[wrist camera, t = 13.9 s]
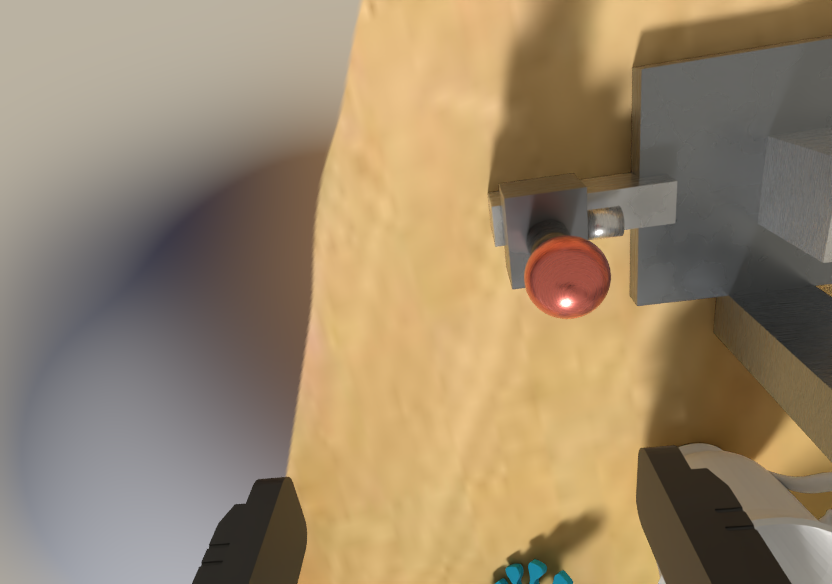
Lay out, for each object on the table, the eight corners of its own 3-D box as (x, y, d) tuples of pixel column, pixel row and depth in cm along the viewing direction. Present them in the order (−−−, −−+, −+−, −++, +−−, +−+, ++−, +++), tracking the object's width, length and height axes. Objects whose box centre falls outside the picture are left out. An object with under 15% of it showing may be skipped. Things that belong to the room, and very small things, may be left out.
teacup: (841, 457, 40) (957, 580, 31) (667, 547, 45) (723, 676, 36) (758, 355, 37) (861, 460, 28) (580, 465, 42) (618, 584, 33)
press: (911, 22, 28) (1501, 4, 12) (847, 323, 35) (1164, 548, 20) (477, 92, 30) (512, 152, 15) (504, 360, 38) (547, 585, 22)
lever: (611, 167, 29) (682, 222, 20) (612, 254, 31) (676, 337, 22) (498, 183, 29) (520, 243, 21) (506, 267, 31) (529, 353, 23)
